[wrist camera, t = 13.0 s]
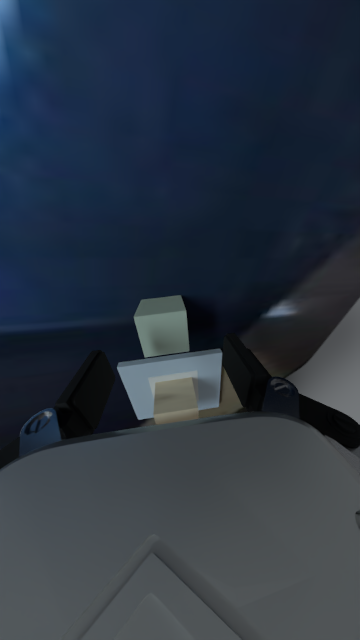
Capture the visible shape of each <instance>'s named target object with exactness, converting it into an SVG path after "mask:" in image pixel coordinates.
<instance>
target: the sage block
mask: <svg viewBox="0 0 360 640" xmlns="http://www.w3.org/2000/svg"><path fill="white" fill-rule="evenodd" d="M134 320H135V324H136V327H137V331H138V335H139V338H140V342H141V345H142V349H143V353H144V356H145V357H151V356H158V355H165V354H172V353H179V352H186V351H189V340H188V327H187V314H186V309H185V306H184V303H183V300H182V297H181V295H179V296H170V297H162V298H154V299H145V300H141V302H140V304H139V306H138V308H137V311H136V313H135V315H134Z"/></svg>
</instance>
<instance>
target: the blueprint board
mask: <svg viewBox="0 0 360 640" xmlns="http://www.w3.org/2000/svg"><path fill="white" fill-rule="evenodd" d="M221 365H222V351H221V349H213V350H206V351H198V352H191V353H184V354H177V355H170V356H163V357H156V358H149V359H141V360H134V361H127V362H120V363H119V364H118V366H117V369H118V371H119V374H120V376H121V379H122V381H123V384H124V386H125V388H126V391H127V393H128V396H129V398H130V401H131V403H132V405H133V408H134V410H135V413H136V415H137V418H138V420H140V419H146V418H152V417H154V415H153V412H154V396H155V383H156V382H162V381H169V380H176V379H183V378H190V377H192V381H193V386H194V391H195V395H196V400H197V405H198V410H202V409H208V408H214V407H219V396H220V380H221Z"/></svg>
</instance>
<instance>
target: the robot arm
mask: <svg viewBox="0 0 360 640" xmlns="http://www.w3.org/2000/svg"><path fill="white" fill-rule="evenodd" d="M222 363H223V366H224V368H225V370H226V372H227V375H228V377H229V379H230V381H231V383H232V385H233V387H234V389H235V391H236V393H237V395H238V397H239V400H240V402H241V404H242V406H243V407H246V409H247V411H248V412H245V413H237V414H229V415H221V416H214V417H207V418H200V419H193V420H186V421H180V422H173V423H166V424H159V425H153V426H146V427H139V428H133V429H126V430H120V431H114V432H107V433H101V434H94V435H92V434H93V432H94V429H96V428H97V426H98V424H99V421H100V419H101V416H102V413H103V411H104V408H105V405H106V403H107V400H108V397H109V395H110V392H111V389H112V387H113V384H114V381H115V375H114V373H113V370H112V368H111V366H110V364H109V362H108V359H107V357H106V355H105V353H104V352H102V351H101V350H97V351H92V352H91V353H90V354H89V356H88V357H87V359H86V360H85V362H84V363H83V364H82V366H81V367H80V369H79V370H78V372H77V373H76V374H75V376H74V377H73V379H72V380H71V382H70V383H69V385H68V386H67V387H66V389H65V390H64V392H63V393H62V395H61V396H60V397H59V399H58V400H57V402H56V403H55V405H56V406H55V407H54V409H52V408H50V409H45V410H43V411H41V412H39V413H37V414H36V415H34V416H33V417H32V418H31V419H30V420H28V421H27V423H26V424H25V425H24V426H23V428H22V430H21V433H20V436H19V437H18V438H17V439H15V440H14V441H12V442H11V443H9V444H8V445H7V446H5V447H4V448H2V449H1V450H0V640H360V425H359V424H358V423H357V422H356V421H355V420H353V419H352V418H351V417H349V416H348V415H346V414H344V413H342V412H340V411H338V410H335V409H333V408H331V407H328V406H326V405H324V404H322V403H320V402H317V401H315V400H313V399H310V398H308V397H306V396H303V395H301V394H299V393H298V390H297V388H296V387H295V386H294V385H293V384H292V383H291V382H290V381H288V380H286V379H284V378H281V377H271V375H270V374H269V373H268V372H267V370H266V369H265V368H264V367H263V365H262V364H261V363H260V362H259V360H258V359H257V358H256V357H255V355H254V354H253V353H252V352H251V350H249V349H248V348H246V347H245V346H244V344H243V343H242V342H241V341H240V339H239V338H238V337H237V335H236V334H235V333H231V334H227V335H226V336H224V346H223V359H222ZM251 411H254V412H251Z"/></svg>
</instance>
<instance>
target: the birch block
mask: <svg viewBox="0 0 360 640" xmlns="http://www.w3.org/2000/svg"><path fill="white" fill-rule="evenodd" d="M153 415H154V419H155V422H156V425H159V424H166V423H173V422H180V421H186V420H193V419H199V415H198V405H197V400H196V395H195V391H194V386H193V381H192V377H190V378H183V379H176V380H169V381H162V382H156V383H155V396H154V412H153Z"/></svg>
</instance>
